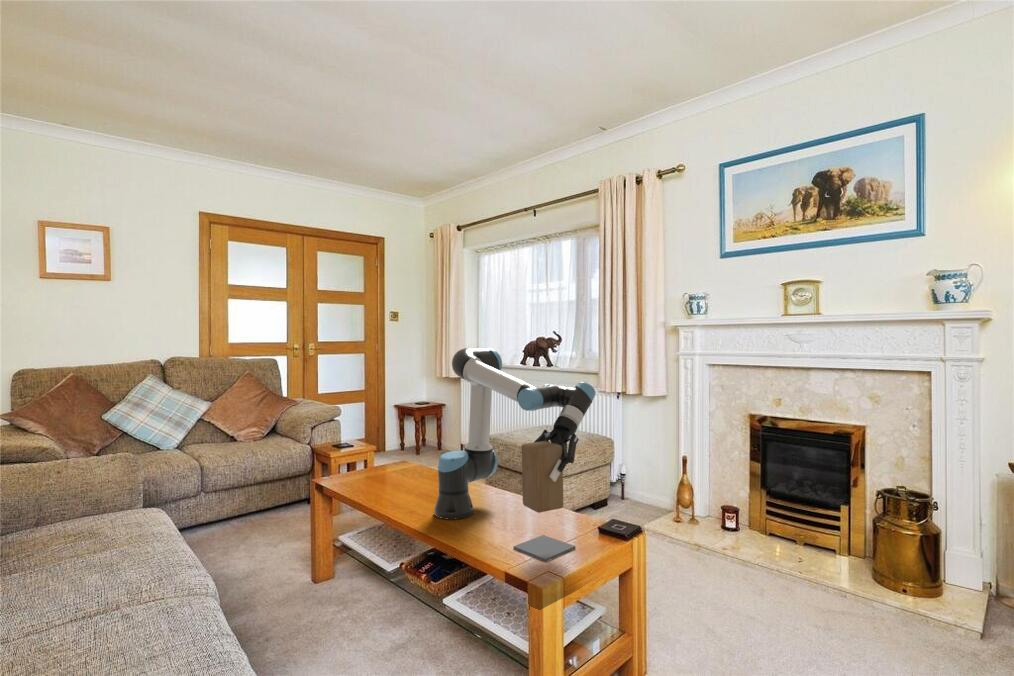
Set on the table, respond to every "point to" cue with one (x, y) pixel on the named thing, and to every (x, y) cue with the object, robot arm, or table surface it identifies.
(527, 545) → the mat
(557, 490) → the wooden block
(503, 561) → the table surface
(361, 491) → the table surface
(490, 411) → the robot arm
